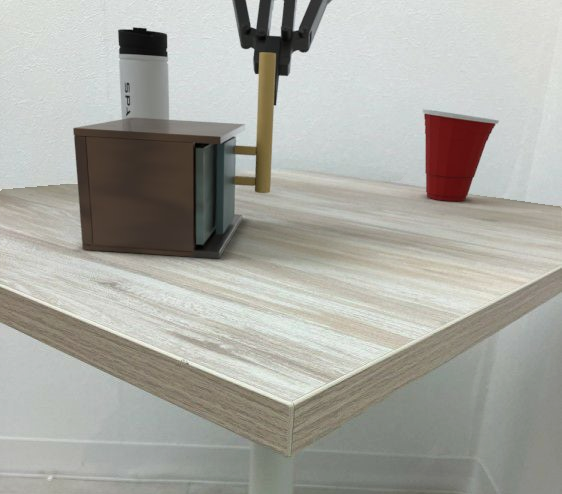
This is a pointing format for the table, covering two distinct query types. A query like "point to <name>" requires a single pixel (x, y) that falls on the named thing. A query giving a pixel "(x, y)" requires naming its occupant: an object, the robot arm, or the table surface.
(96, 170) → the brown wooden cabinet
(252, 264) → the table surface
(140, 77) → the travel mug
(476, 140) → the plastic cup
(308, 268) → the table surface
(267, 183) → the glass door
